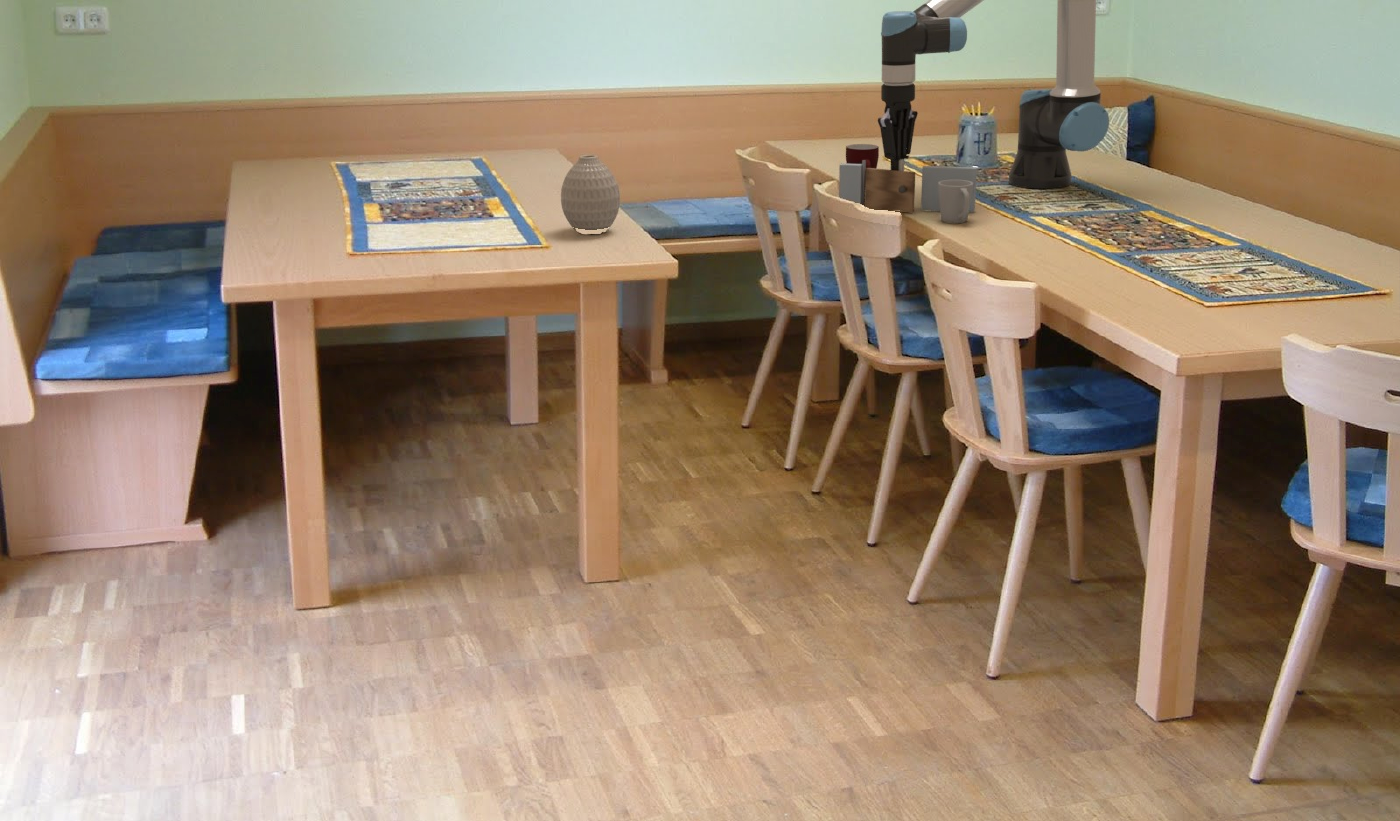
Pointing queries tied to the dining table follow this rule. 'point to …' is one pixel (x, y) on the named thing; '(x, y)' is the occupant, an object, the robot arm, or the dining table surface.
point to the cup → (954, 200)
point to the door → (890, 189)
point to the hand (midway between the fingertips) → (897, 187)
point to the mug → (862, 155)
